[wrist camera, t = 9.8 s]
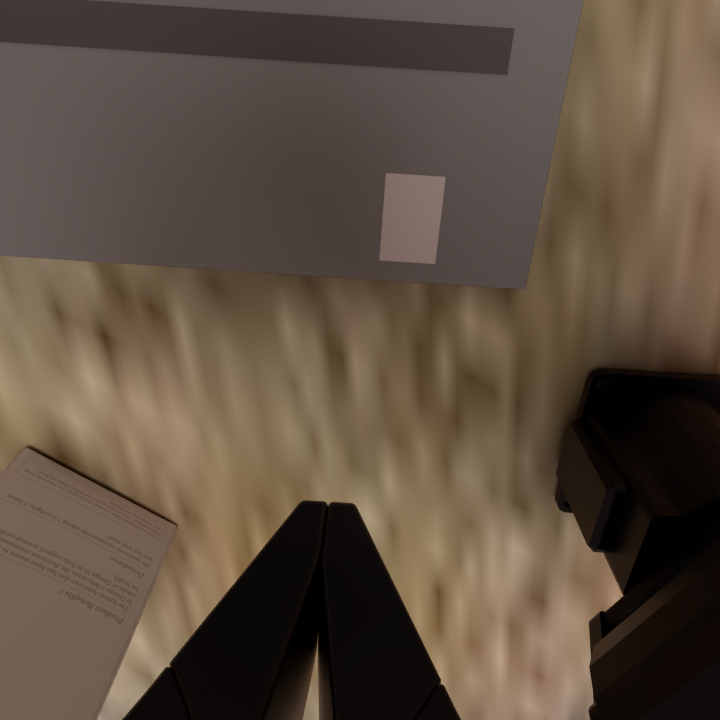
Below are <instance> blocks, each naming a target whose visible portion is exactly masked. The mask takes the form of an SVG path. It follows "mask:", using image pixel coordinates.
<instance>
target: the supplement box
mask: <svg viewBox="0 0 720 720" xmlns="http://www.w3.org/2000/svg"><path fill="white" fill-rule="evenodd" d="M176 528H177V526H176V525H174V524H172V523H170V522H168V521H166V520H164V519H162V518H160V517H159V516H157V515H155V514H153V513H151V512H149V511H147V510H145V509H143V508H141V507H139V506H137V505H135V504H133V503H132V502H130V501H128V500H126V499H124V498H122V497H120V496H118V495H116V494H114V493H112V492H111V491H109V490H107V489H105V488H103V487H101V486H99V485H97V484H95V483H93V482H91V481H89V480H88V479H86V478H84V477H82V476H80V475H78V474H76V473H74V472H73V471H71V470H69V469H67V468H65V467H63V466H61V465H59V464H57V463H56V462H54V461H52V460H50V459H48V458H46V457H44V456H42V455H40V454H38V453H36V452H35V451H33V450H31V449H29V448H25V449H24V450H23V451H22V452H21V453H20V454H19V455H18V456H17V457H16V458H15V459H14V460H13V461H12V462H11V463H10V464H9V466H8V467H7V468H6V469H5V470H4V471H3V472H2V473H1V474H0V720H97V718H98V716H99V714H100V711H101V709H102V707H103V704H104V702H105V700H106V698H107V695H108V693H109V691H110V688H111V686H112V684H113V682H114V679H115V677H116V675H117V672H118V670H119V668H120V665H121V663H122V660H123V658H124V656H125V653H126V651H127V648H128V646H129V644H130V641H131V639H132V637H133V634H134V632H135V630H136V627H137V625H138V623H139V620H140V618H141V615H142V613H143V611H144V608H145V606H146V603H147V601H148V599H149V596H150V594H151V592H152V589H153V587H154V584H155V582H156V579H157V576H158V574H159V571H160V569H161V566H162V564H163V561H164V559H165V557H166V554H167V552H168V549H169V547H170V545H171V542H172V540H173V537H174V534H175V531H176Z"/></svg>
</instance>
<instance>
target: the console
mask: <svg viewBox="0 0 720 720" xmlns="http://www.w3.org/2000/svg"><path fill="white" fill-rule="evenodd" d="M582 4H583V0H0V255H1V256H16V257H32V258H47V259H63V260H78V261H93V262H109V263H124V264H140V265H155V266H170V267H186V268H201V269H216V270H232V271H247V272H263V273H278V274H293V275H309V276H324V277H340V278H355V279H370V280H386V281H401V282H417V283H432V284H447V285H463V286H478V287H494V288H509V289H524V290H525V288H526V283H527V278H528V273H529V268H530V263H531V258H532V253H533V248H534V243H535V238H536V233H537V228H538V223H539V218H540V213H541V208H542V203H543V198H544V193H545V188H546V183H547V178H548V173H549V168H550V163H551V158H552V153H553V148H554V143H555V138H556V133H557V128H558V123H559V118H560V113H561V108H562V103H563V98H564V93H565V88H566V84H567V79H568V74H569V69H570V64H571V59H572V54H573V49H574V44H575V39H576V34H577V29H578V24H579V19H580V14H581V9H582Z"/></svg>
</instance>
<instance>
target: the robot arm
mask: <svg viewBox="0 0 720 720" xmlns="http://www.w3.org/2000/svg"><path fill="white" fill-rule="evenodd" d="M604 379H607V382H606V384H604V385H603V386H597V384H598V383H599V382H600V381H601V380H604ZM556 476H557V478H558V480H559V483H558V487H557V491H556V494H555V500H556V503H557V505H558V507H559V509H560V510H562V511H563V512H568V513H573V514H574V516H575V518H576V521H577V523H578V525H579V527H580V530H581V532H582V534H583V536H584V539H585V541H586V543H587V545H588V546H589V547H590V548H591V550H592V551H593V552H603V553H604V555H605V557H606V560H607V562H608V564H609V566H610V568H611V570H612V572H613V574H614V577H615V579H616V581H617V583H618V585H619V587H620V589H621V591H622V594H623V597H622V598H621V599H620V600H618V601H617V602H616V603H615V604H614V605H613V606H611V607H610V608H609V609H608V610H607V611H606V612H603V611H601V612H599V613H598V614H597V615H596V616H595V617H594V618H592V619H591V620H590V621H589V630H590V647H591V661H590V666H589V667H590V674H591V680H592V686H593V699H594V704H593V705H591V706H590V708H589V717H590V720H720V376H717V375H702V374H686V373H671V372H655V371H640V370H625V369H609V368H601V369H597V370H595V371H593V372H592V373H591V374H590V375H589V376H588V378H587V381H586V385H585V388H584V392H583V396H582V399H581V403H580V407H579V410H578V414H577V417H576V419H574V420H573V421H572V422H571V423H570V424H569V427H568V431H567V434H566V438H565V442H564V446H563V449H562V453H561V457H560V460H559V464H558V468H557V472H556ZM566 499H567V500H568V501H565V500H566ZM318 634H319V635H318ZM317 643H318V686H319V720H461V719H460V717H459V715H458V713H457V711H456V709H455V707H454V705H453V703H452V701H451V699H450V697H449V695H448V693H447V691H446V689H445V687H444V685H442V684H441V679H440V677H439V675H438V673H437V671H436V669H435V667H434V665H433V663H432V661H431V659H430V657H429V654H428V652H427V650H426V648H425V646H424V644H423V642H422V640H421V638H420V636H419V634H418V632H417V630H416V628H415V626H414V624H413V622H412V620H411V618H410V616H409V614H408V611H407V609H406V607H405V605H404V603H403V601H402V599H401V597H400V595H399V593H398V591H397V589H396V587H395V585H394V583H393V581H392V579H391V577H390V575H389V573H388V570H387V568H386V566H385V564H384V562H383V560H382V558H381V556H380V554H379V552H378V550H377V548H376V546H375V544H374V542H373V540H372V538H371V536H370V534H369V532H368V529H367V527H366V525H365V523H364V521H363V519H362V517H361V515H360V513H359V511H358V509H357V507H356V506H355V505H354V504H353V503H341V502H331V503H330V504H329V505H327V503H326V502H324V501H310V500H304V501H301V502H300V503H299V504H298V505H297V507H296V508H295V509H294V510H293V512H292V513H291V514H290V515H289V517H288V518H287V519H286V520H285V521H284V523H283V524H282V525H281V526H280V528H279V529H278V530H277V531H276V533H275V534H274V535H273V536H272V538H271V539H270V540H269V541H268V542H267V544H266V545H265V546H264V547H263V549H262V550H261V551H260V552H259V554H258V555H257V556H256V557H255V558H254V560H253V561H252V562H251V563H250V565H249V566H248V567H247V568H246V570H245V571H244V572H243V573H242V575H241V576H240V577H239V578H238V579H237V581H236V582H235V583H234V584H233V586H232V587H231V588H230V589H229V591H228V592H227V593H226V594H225V595H224V597H223V598H222V599H221V600H220V602H219V603H218V604H217V605H216V607H215V608H214V609H213V610H212V611H211V613H210V614H209V615H208V616H207V618H206V619H205V620H204V621H203V623H202V624H201V625H200V626H199V628H198V629H197V630H196V631H195V632H194V634H193V635H192V636H191V637H190V639H189V640H188V641H187V642H186V644H185V645H184V646H183V647H182V648H181V650H180V651H179V652H178V653H177V655H176V656H175V657H174V658H173V660H172V661H171V662H170V667H166V668H165V669H164V670H163V671H162V673H161V674H160V675H159V676H158V678H157V679H156V680H155V681H154V683H153V684H152V685H151V686H150V688H149V689H148V690H147V691H146V693H145V694H144V695H143V696H142V697H141V698H140V700H139V701H138V702H137V703H136V704H135V705H134V707H133V708H132V709H131V710H130V711H129V712H128V714H127V715H126V716H125V717H124V718H123V719H122V720H302V719H303V714H304V710H305V705H306V700H307V695H308V691H309V686H310V681H311V676H312V672H313V667H314V662H315V656H316V651H317Z"/></svg>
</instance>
